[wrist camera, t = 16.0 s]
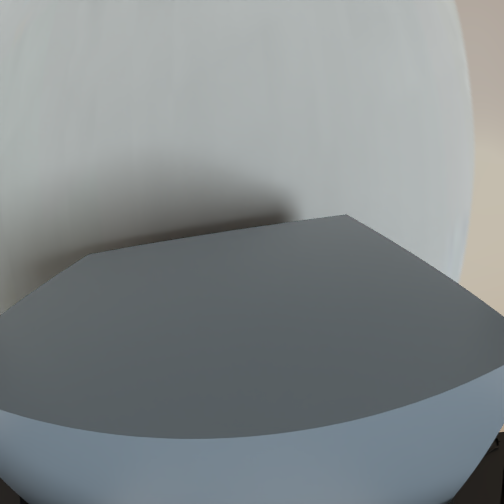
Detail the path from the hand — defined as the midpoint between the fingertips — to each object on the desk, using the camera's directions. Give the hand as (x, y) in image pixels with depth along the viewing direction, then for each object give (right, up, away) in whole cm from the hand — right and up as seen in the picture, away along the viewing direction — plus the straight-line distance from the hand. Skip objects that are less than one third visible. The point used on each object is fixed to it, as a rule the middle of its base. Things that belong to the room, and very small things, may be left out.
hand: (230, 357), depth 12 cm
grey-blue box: (0, 0, +1) cm, 1 cm away
